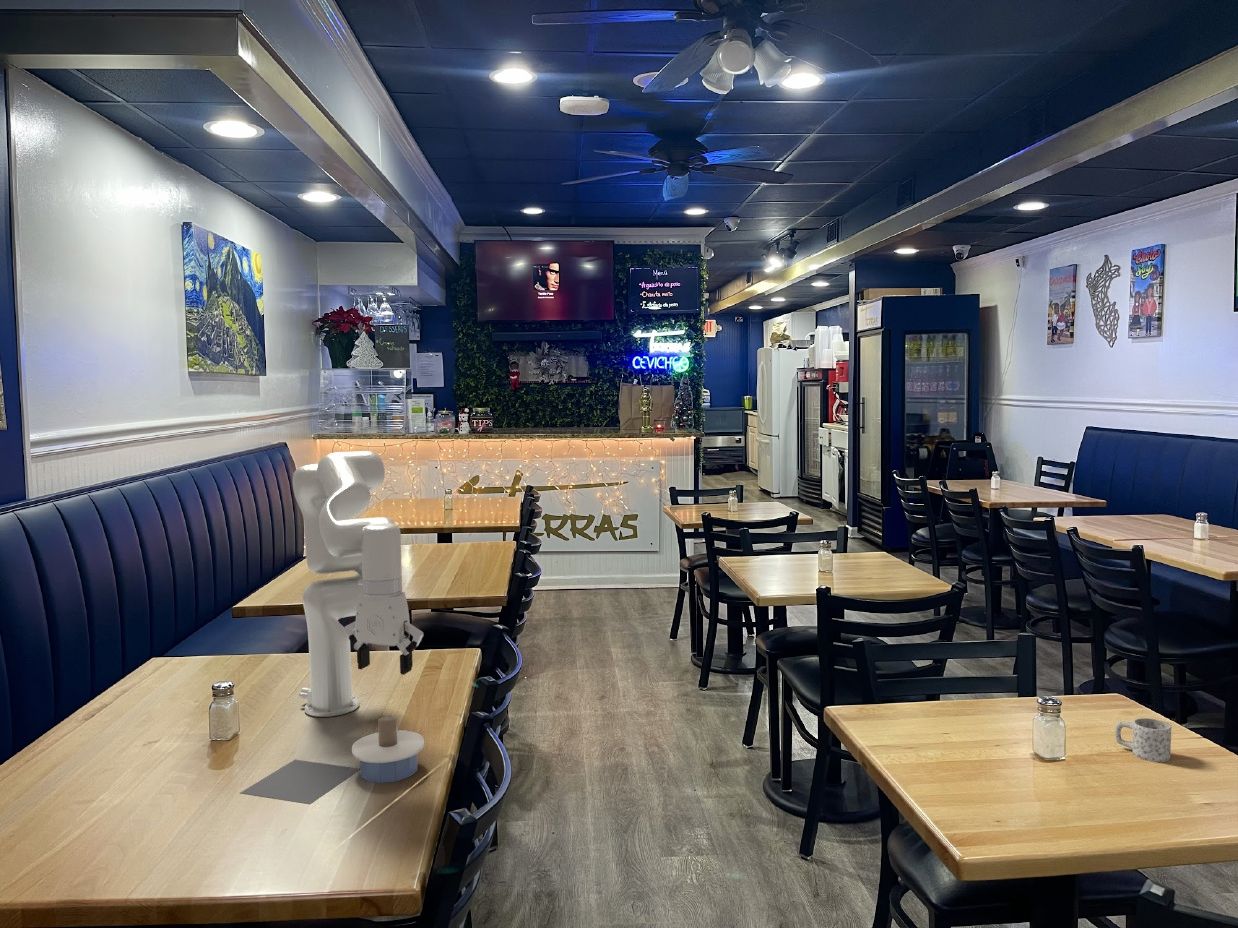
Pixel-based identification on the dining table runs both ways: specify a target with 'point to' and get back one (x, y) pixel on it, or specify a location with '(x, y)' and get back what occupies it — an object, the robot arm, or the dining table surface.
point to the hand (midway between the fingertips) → (384, 669)
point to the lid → (387, 743)
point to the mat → (301, 781)
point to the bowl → (388, 770)
